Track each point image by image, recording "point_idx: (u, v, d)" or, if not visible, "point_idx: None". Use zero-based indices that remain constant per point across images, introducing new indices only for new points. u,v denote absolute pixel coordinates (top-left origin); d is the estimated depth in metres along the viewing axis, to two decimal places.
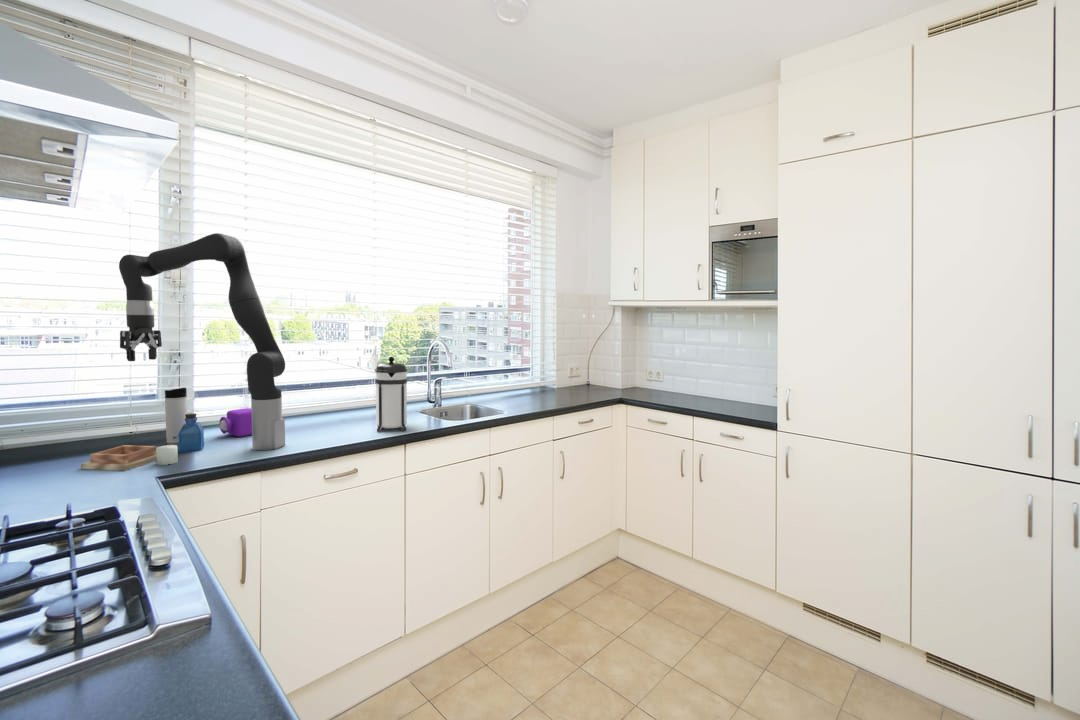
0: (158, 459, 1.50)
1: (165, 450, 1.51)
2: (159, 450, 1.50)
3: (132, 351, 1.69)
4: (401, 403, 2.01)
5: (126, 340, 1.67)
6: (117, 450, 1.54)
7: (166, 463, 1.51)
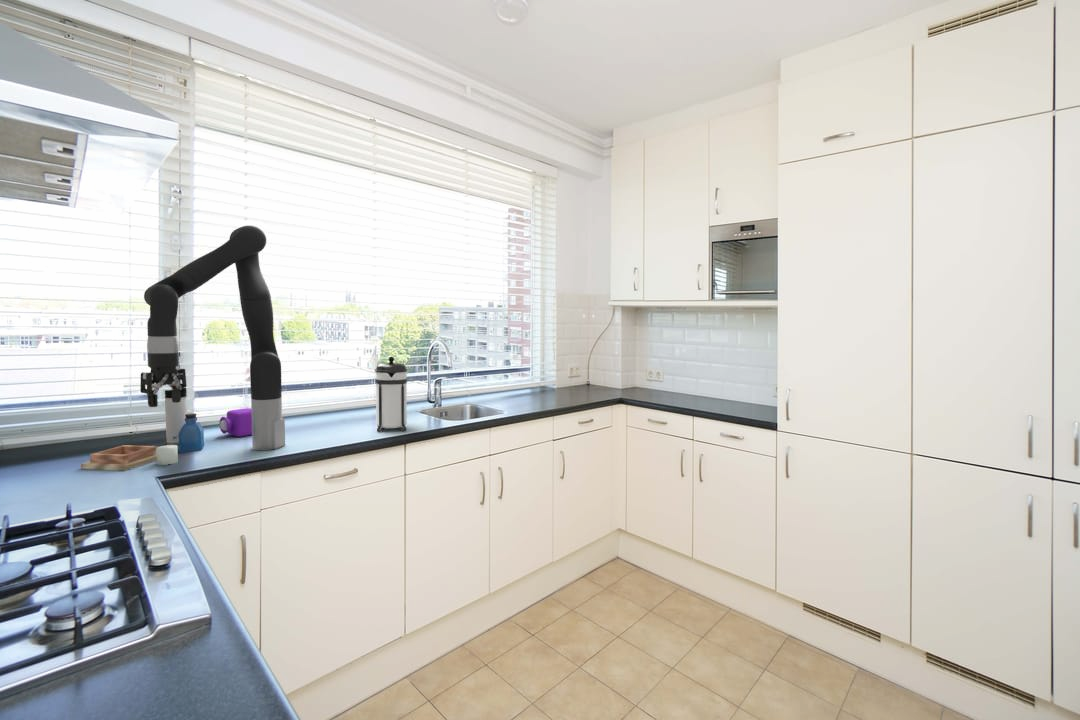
0: (158, 459, 1.50)
1: (165, 450, 1.51)
2: (159, 450, 1.50)
3: (154, 395, 1.47)
4: (401, 403, 2.01)
5: (148, 383, 1.44)
6: (117, 450, 1.54)
7: (166, 463, 1.51)
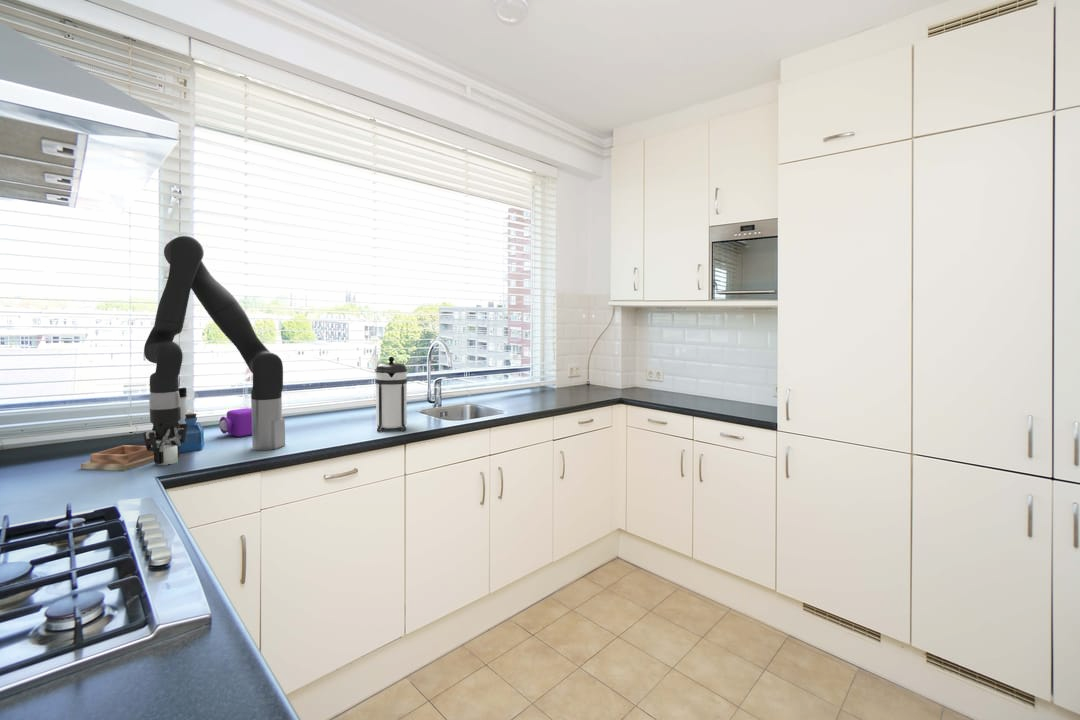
0: None
1: (166, 450, 1.51)
2: None
3: (160, 453, 1.49)
4: (401, 403, 2.01)
5: (152, 443, 1.46)
6: (117, 450, 1.54)
7: (166, 463, 1.51)
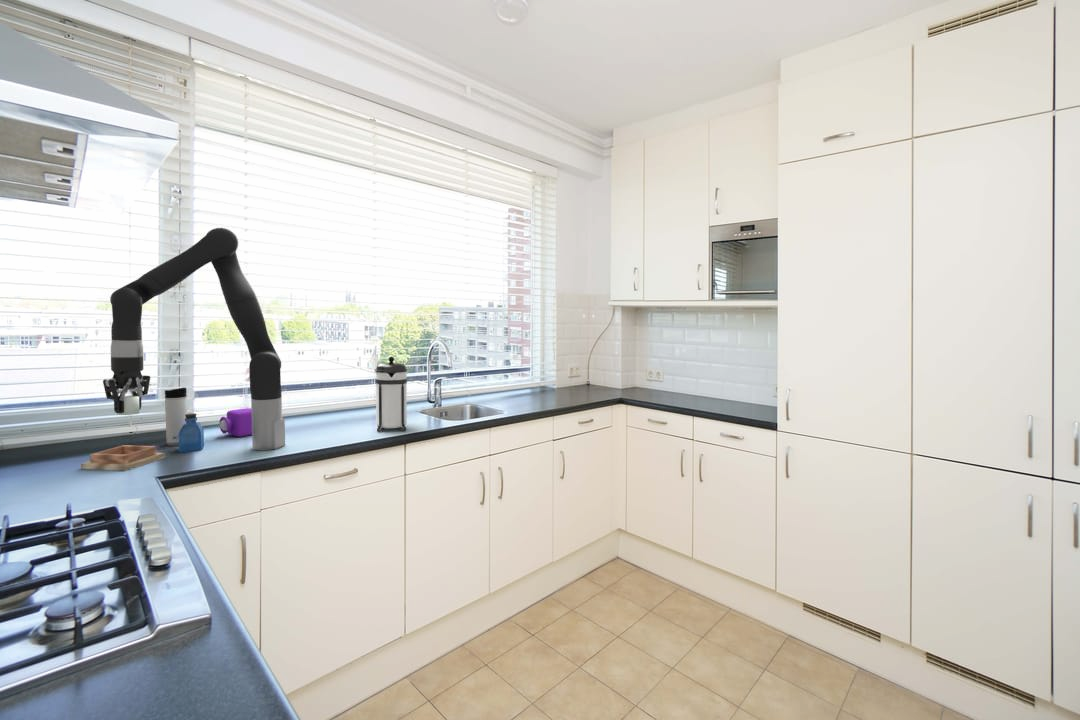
0: None
1: (126, 399, 1.48)
2: None
3: (121, 402, 1.47)
4: (401, 403, 2.01)
5: (112, 391, 1.44)
6: (117, 450, 1.54)
7: (126, 413, 1.48)
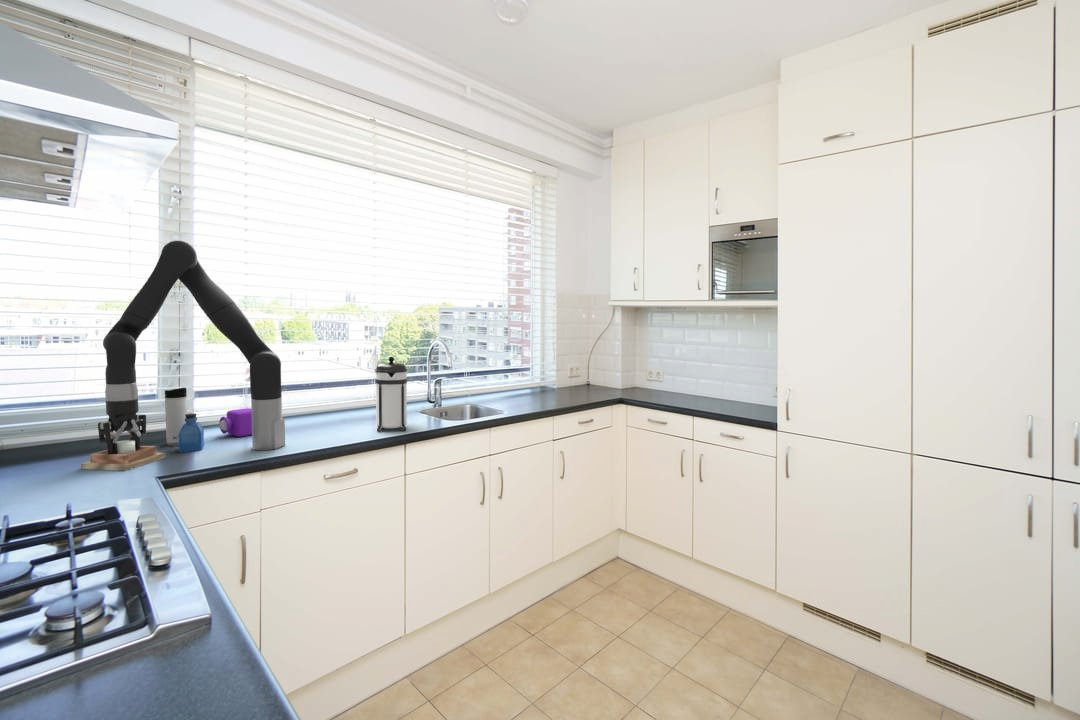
0: None
1: (122, 445, 1.49)
2: None
3: (114, 444, 1.47)
4: (401, 403, 2.01)
5: (106, 433, 1.44)
6: None
7: None
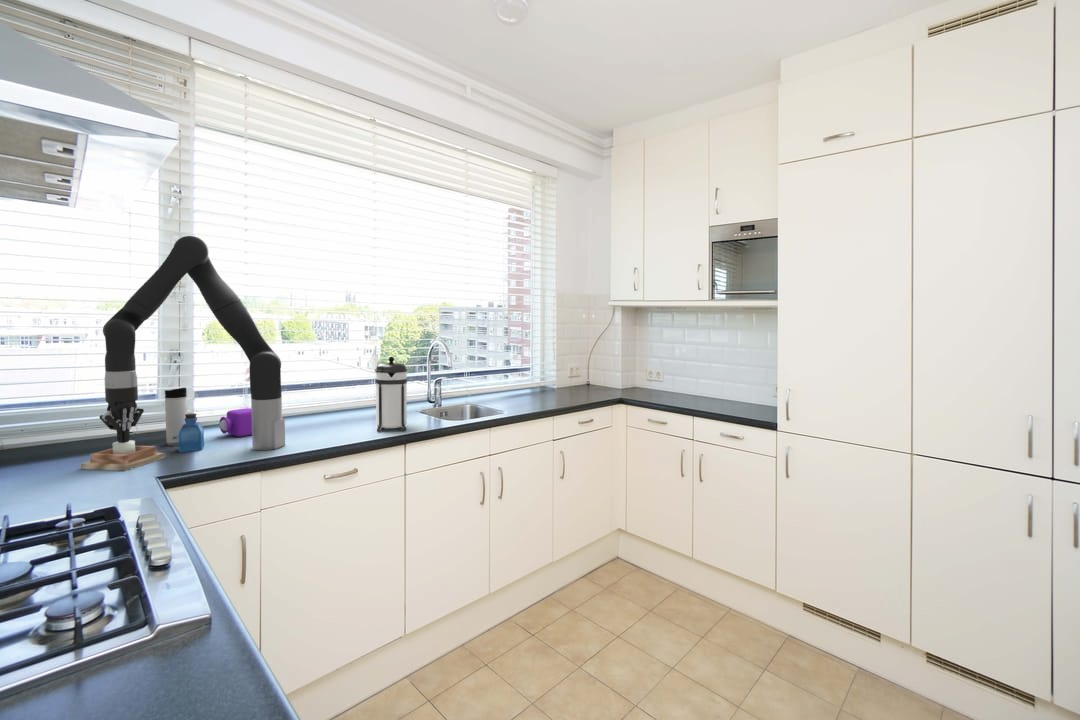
0: None
1: (122, 445, 1.49)
2: (115, 445, 1.49)
3: (123, 432, 1.50)
4: (401, 403, 2.01)
5: (112, 424, 1.47)
6: None
7: None
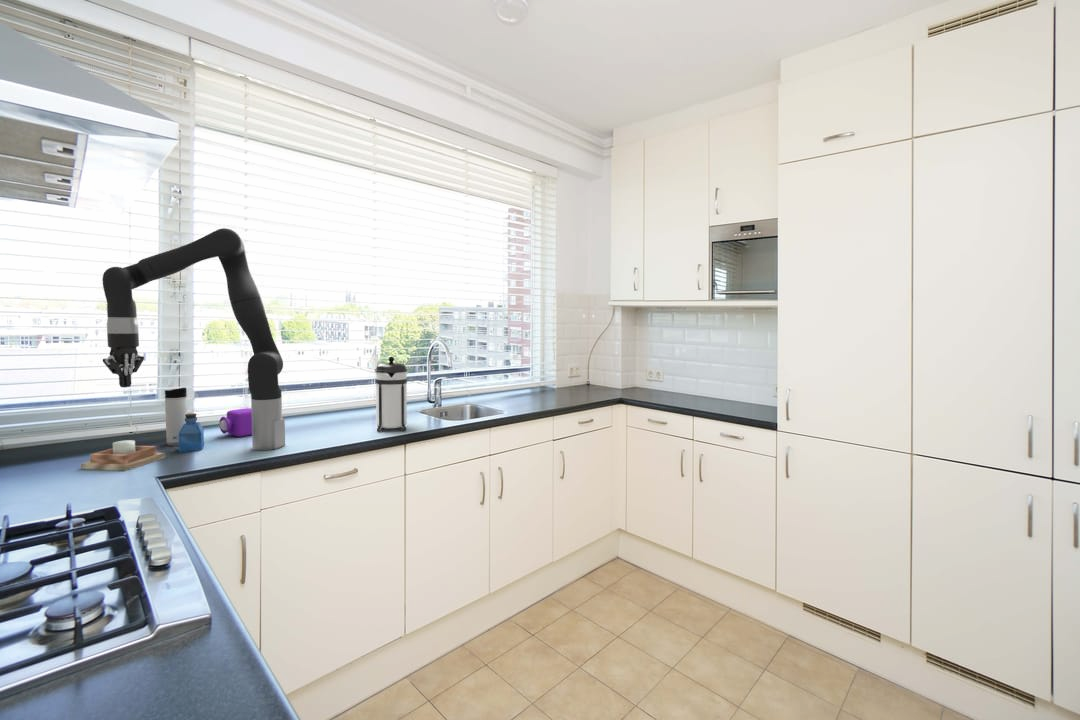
0: None
1: (122, 445, 1.49)
2: (115, 445, 1.49)
3: (125, 376, 1.56)
4: (401, 403, 2.01)
5: (115, 368, 1.52)
6: None
7: None
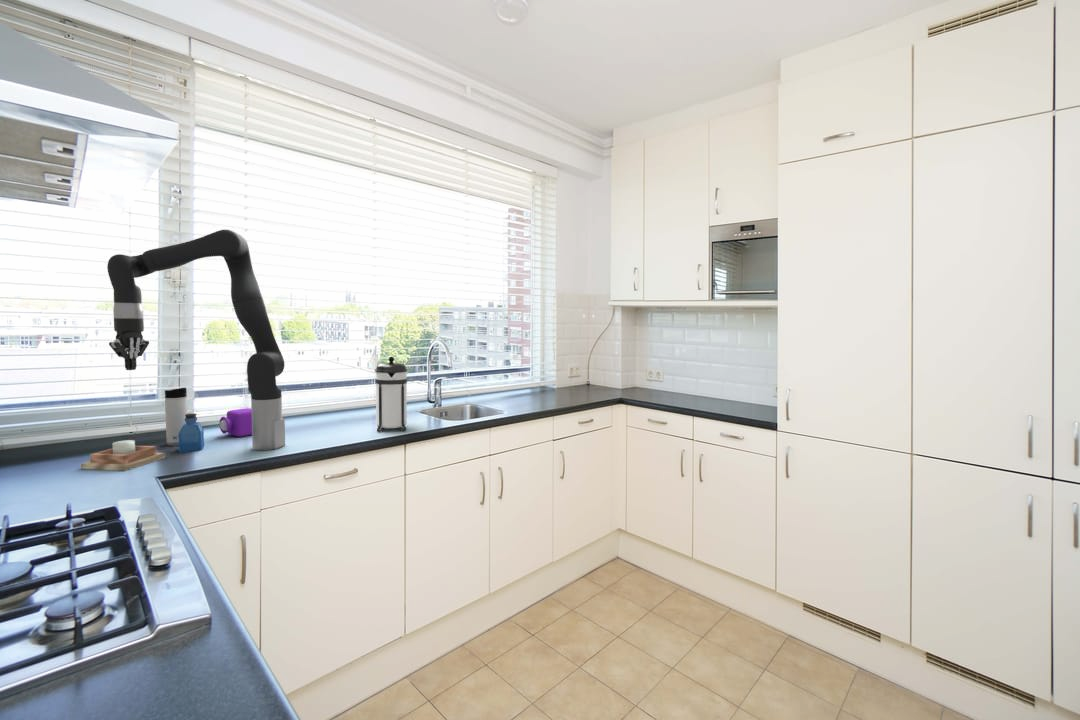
0: None
1: (122, 445, 1.49)
2: (115, 445, 1.49)
3: (131, 360, 1.63)
4: (401, 403, 2.01)
5: (121, 351, 1.60)
6: None
7: None
